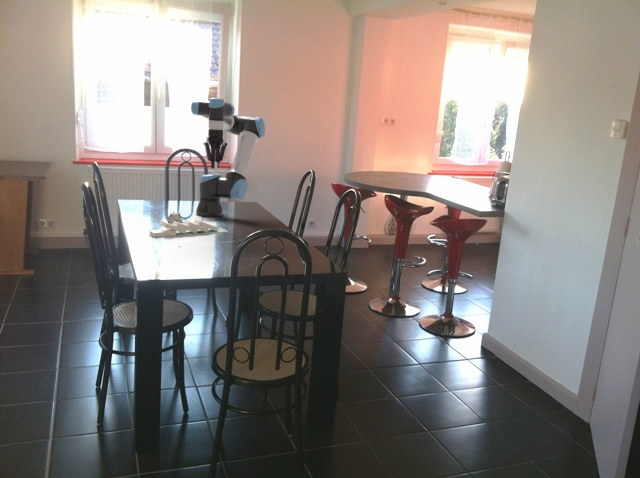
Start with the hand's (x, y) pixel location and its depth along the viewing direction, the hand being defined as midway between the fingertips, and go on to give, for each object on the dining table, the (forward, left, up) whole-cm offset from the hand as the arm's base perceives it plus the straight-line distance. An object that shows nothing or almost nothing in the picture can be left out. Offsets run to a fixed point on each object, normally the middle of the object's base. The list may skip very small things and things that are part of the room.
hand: (214, 174), depth 309 cm
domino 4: (+14, +18, -25) cm, 33 cm away
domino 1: (+30, +18, -24) cm, 43 cm away
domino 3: (+20, +18, -25) cm, 36 cm away
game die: (+23, +2, -27) cm, 35 cm away
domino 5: (+8, +18, -25) cm, 31 cm away
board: (+18, +18, -26) cm, 37 cm away
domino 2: (+25, +18, -24) cm, 40 cm away
